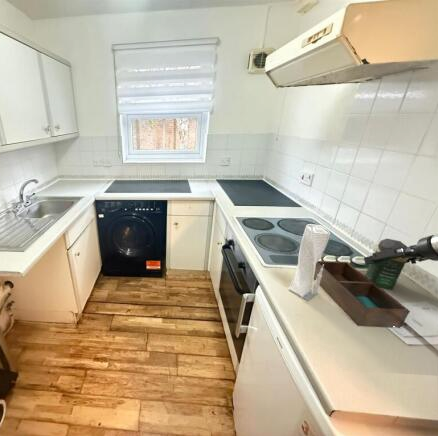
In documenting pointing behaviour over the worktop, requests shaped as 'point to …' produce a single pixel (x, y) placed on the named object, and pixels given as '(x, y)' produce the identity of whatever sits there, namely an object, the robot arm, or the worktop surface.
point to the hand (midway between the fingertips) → (378, 261)
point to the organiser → (360, 296)
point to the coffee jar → (386, 266)
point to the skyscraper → (309, 261)
